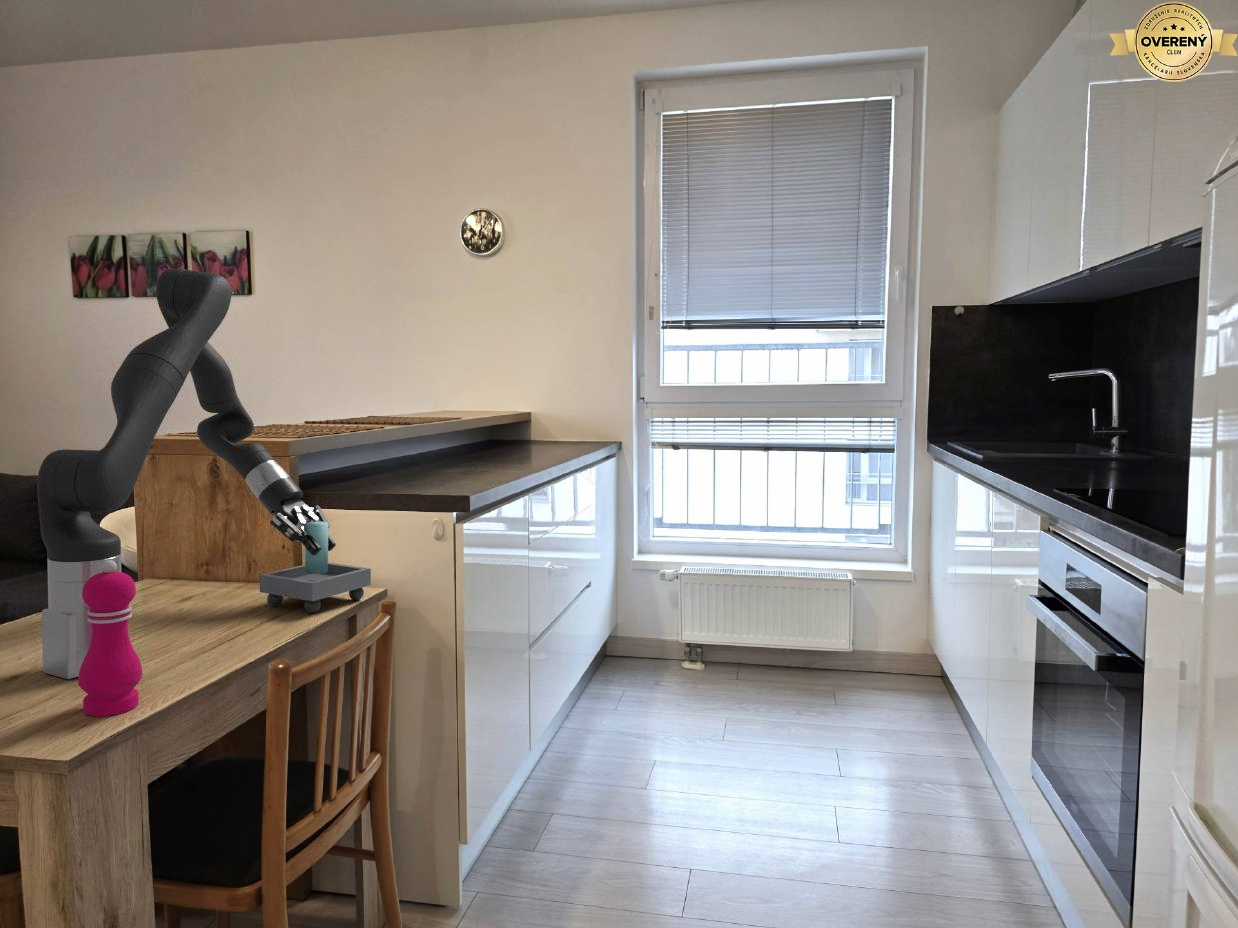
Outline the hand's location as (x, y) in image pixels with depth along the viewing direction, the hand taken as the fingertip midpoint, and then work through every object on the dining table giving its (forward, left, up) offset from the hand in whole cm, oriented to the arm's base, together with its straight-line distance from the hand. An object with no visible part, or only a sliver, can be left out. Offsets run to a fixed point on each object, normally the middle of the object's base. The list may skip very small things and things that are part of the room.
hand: (324, 550), depth 162 cm
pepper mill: (-54, -16, -11) cm, 58 cm away
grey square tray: (0, +2, -11) cm, 11 cm away
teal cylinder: (0, +2, -5) cm, 5 cm away
